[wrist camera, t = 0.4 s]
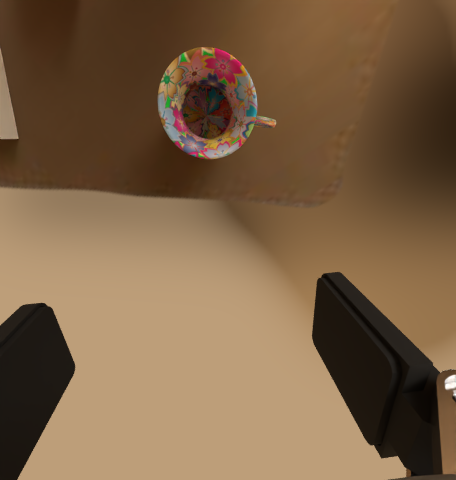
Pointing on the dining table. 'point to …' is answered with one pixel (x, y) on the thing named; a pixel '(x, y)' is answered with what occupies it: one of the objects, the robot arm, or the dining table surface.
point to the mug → (208, 103)
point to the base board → (6, 107)
